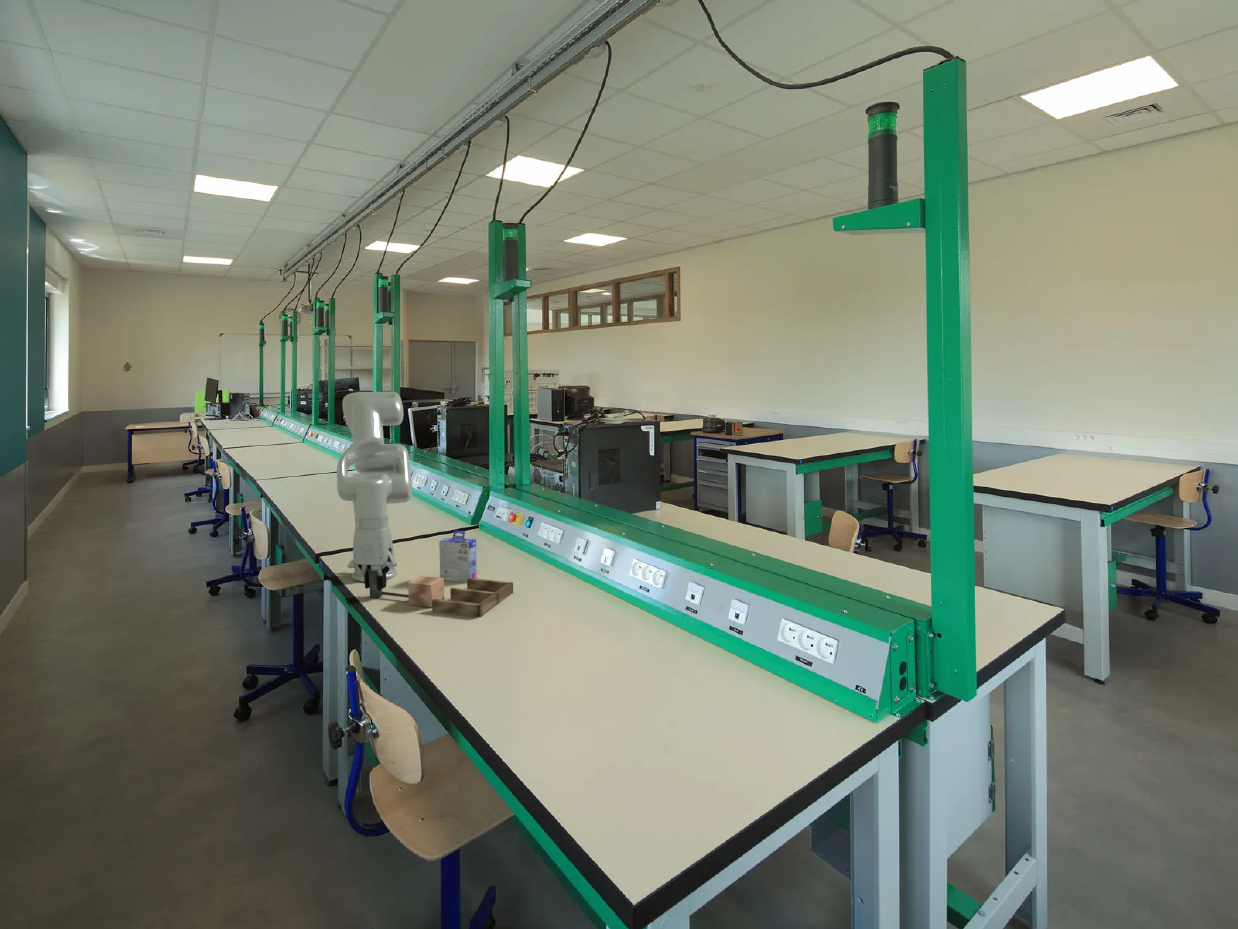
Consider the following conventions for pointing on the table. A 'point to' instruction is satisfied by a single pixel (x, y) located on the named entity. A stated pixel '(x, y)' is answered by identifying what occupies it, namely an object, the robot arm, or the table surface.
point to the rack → (474, 597)
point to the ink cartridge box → (458, 558)
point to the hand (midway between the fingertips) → (375, 587)
